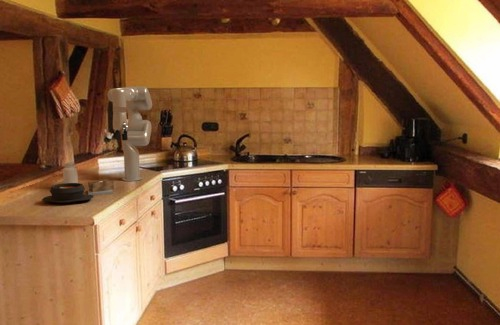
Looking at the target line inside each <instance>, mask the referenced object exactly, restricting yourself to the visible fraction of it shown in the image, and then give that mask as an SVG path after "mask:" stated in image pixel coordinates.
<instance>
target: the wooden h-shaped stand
mask: <svg viewBox="0 0 500 325" xmlns="http://www.w3.org/2000/svg"><path fill="white" fill-rule="evenodd" d="M99 181H103V182H99ZM87 183H88V184H87V186H88V187H87V189H89V191H92V192H100V191H107V190H113V191H114V190H115V185H114V180H111V179H109V178H108V179H100V180H99V179H98V180H93V181H92V180H91V181H88V182H87Z"/></svg>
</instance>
